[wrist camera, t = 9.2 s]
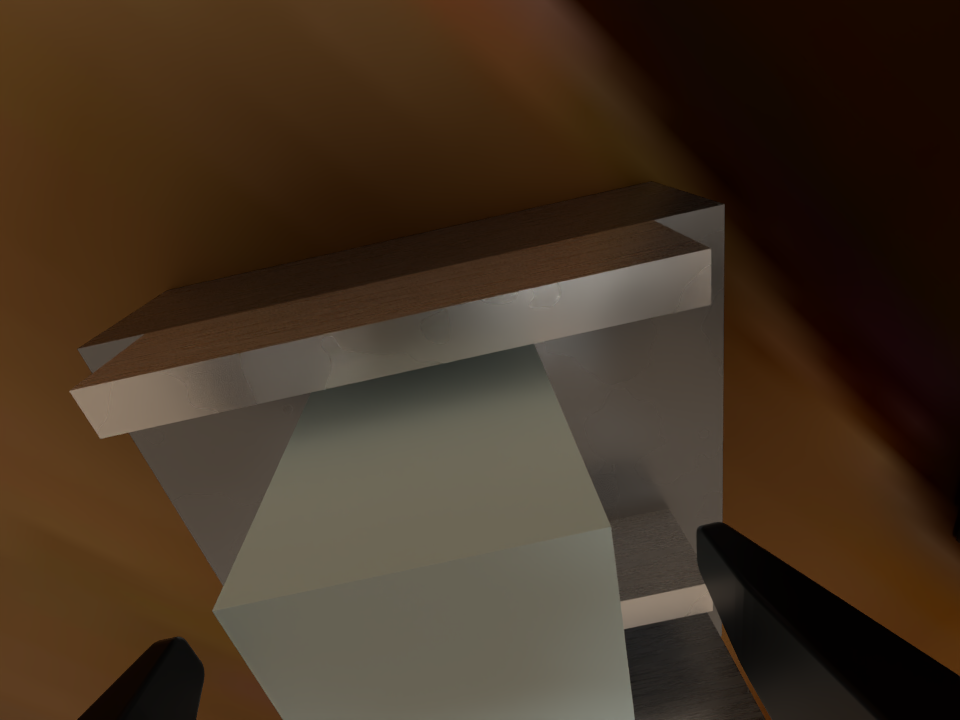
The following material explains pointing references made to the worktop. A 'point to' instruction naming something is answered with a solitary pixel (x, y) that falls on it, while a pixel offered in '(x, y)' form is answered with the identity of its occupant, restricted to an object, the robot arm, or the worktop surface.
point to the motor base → (459, 335)
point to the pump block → (433, 557)
